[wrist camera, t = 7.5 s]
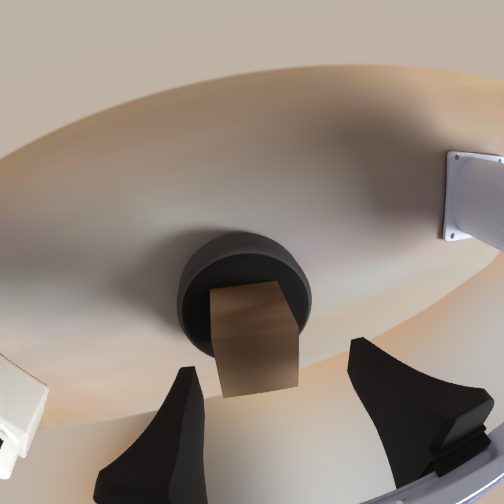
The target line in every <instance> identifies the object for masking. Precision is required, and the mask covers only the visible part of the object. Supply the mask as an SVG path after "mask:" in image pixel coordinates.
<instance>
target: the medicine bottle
mask: <svg viewBox="0 0 504 504" xmlns="http://www.w3.org/2000/svg"><path fill="white" fill-rule="evenodd" d="M48 390H49V388H48V386H47V385H45V384H43V383H42V382H40V381H39V380H37V379H35V378H34V377H32V376H31V375H29V374H28V373H26V372H25V371H23V370H22V369H20V368H19V367H17V366H16V365H15V364H13V363H12V362H10V361H9V360H7V359H6V358H5V357H3V356H2V355H1V354H0V479H8V478H10V475H11V472H12V469H13V467H14V464H15V461H16V459H17V456H18V455H19V456H20V457H22V458H25V457H26V454H27V452H28V449H29V447H30V444H31V442H32V439H33V436H34V434H35V431H36V429H37V427H38V424H39V422H40V420H41V417H42V414H43V409H44V405H45V401H46V398H47V394H48Z"/></svg>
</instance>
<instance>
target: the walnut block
mask: <svg viewBox="0 0 504 504" xmlns="http://www.w3.org/2000/svg"><path fill="white" fill-rule="evenodd" d="M210 313H211V341H212V346H213V351H214V356H215V361H216V365H217V370H218V375H219V380H220V384H221V389H222V393H223V397H224V398H227V397H235V396H243V395H250V394H257V393H263V392H269V391H275V390H280V389H286V388H292V387H297V386H298V368H299V327H298V324H297V322H296V320H295V318H294V316H293V314H292V312H291V310H290V307H289V305H288V303H287V301H286V299H285V297H284V295H283V293H282V291H281V289H280V286H279V284H278V282H277V281H270V282H263V283H256V284H248V285H240V286H233V287H225V288H216V289H210Z"/></svg>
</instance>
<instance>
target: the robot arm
mask: <svg viewBox="0 0 504 504" xmlns="http://www.w3.org/2000/svg"><path fill="white" fill-rule="evenodd" d="M455 156H456V159H455ZM451 234H452V235H451ZM472 237H475V238H477V239H479V240H481V241H483V242H485V243H487V244H489V245H491V246H493V247H495V248H496V249H498V250H500V251H502V252H504V157H502V156H495V155H486V154H478V153H468V152H457V151H449V152H448V154H447V184H446V204H445V217H444V228H443V240H445V241H447V242H449V241H455V240H460V239H466V238H472ZM347 372H348V374H349V377H350V380H351V382H352V385H353V387H354V389H355V391H356V393H357V394H358V396H359V398H360V400H361V402H362V403H363V405H364V407H365V409H366V410H367V412H368V414H369V416H370V417H371V419H372V421H373V423H374V425H375V427H376V429H377V431H378V434H379V436H380V439H381V441H382V444H383V446H384V449H385V452H386V455H387V458H388V461H389V464H390V467H391V470H392V474H393V477H394V481H395V485H396V490H394V491H392V492H389V493H387V494H384V495H382V496H379V497H377V498H374V499H371V500H369V501H366V502H363V503H360V504H472V503H474V502H475V501H477V500H478V499H479V498H481V497H482V496H484V495H485V494H486V493H487V492H489V491H490V490H491V489H493V488H494V487H495V486H497V485H498V484H499V483H500V482H502V481H503V480H504V422H503V423H502V424H501V425H499V426H498V427H497V428H495V429H494V430H492V431H491V432H490V433H489V434H488V435H486V434H485V432H484V431H485V430H486V427H485V426H484V424H483V423H484V422H485V420H486V418H487V417H488V415H489V414H490V412H491V410H492V408H493V406H494V399H493V398H492V397H491V396H490V395H489V394H488V393H487V391H486V390H485V389H482V388H474V387H466V386H462V385H457V384H453V383H449V382H445V381H442V380H439V379H436V378H434V377H431V376H428V375H426V374H424V373H421V372H419V371H417V370H415V369H413V368H411V367H409V366H408V365H406V364H404V363H402V362H400V361H399V360H397V359H395V358H394V357H392V356H391V355H389V354H387V353H386V352H384V351H383V350H381V349H380V348H378V347H377V346H375V345H374V344H372V343H371V342H370V341H368V340H367V339H365V338H364V337H361V338H357V339H352V340H351V345H350V354H349V361H348V369H347ZM204 419H205V414H204V399H203V394H202V390H201V387H200V384H199V380H198V377H197V373H196V370H195V366H191V367H181V368H180V369H179V371H178V374H177V376H176V379H175V381H174V383H173V385H172V387H171V389H170V391H169V393H168V395H167V397H166V399H165V401H164V402H163V404H162V406H161V407H160V409H159V411H158V412H157V414H156V416H155V417H154V419H153V420H152V421H151V423H150V424H149V425H148V427H147V428H146V430H145V431H144V432H143V433H142V434H141V436H139V438H138V439H137V440H136V441H135V442H134V443H133V444H132V445H131V446H130V447H129V448H128V449H127V450H126V451H125V452H124V453H123V454H122V455H121V456H119V457H118V458H117V459H116V460H115V461H114V462H112V463H111V464H109V465H108V466H107V467H105V468H104V469H102V470H101V471H99V474H98V477H97V481H96V485H95V490H94V495H93V499H94V501H95V502H96V503H97V504H208V502H207V495H206V486H205V477H204V465H203V445H204V421H205V420H204Z"/></svg>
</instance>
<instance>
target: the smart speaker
mask: <svg viewBox="0 0 504 504" xmlns="http://www.w3.org/2000/svg"><path fill="white" fill-rule="evenodd" d="M270 281H277V282H278V284H279V286H280V289H281V291H282V293H283V295H284V297H285V299H286V301H287V303H288V305H289V307H290V310H291V312H292V314H293V316H294V318H295V320H296V322H297V324H298V327H299V335H300V333H301V332H302V331H303V329H304V327H305V325H306V323H307V321H308V318H309V315H310V311H311V304H312V297H311V289H310V286H309V282H308V280H307V278H306V275H305V274H304V272H303V270H302V269H301V267H300V266H299V264H298V263H297V262H296V260H295V259H294V258H293V256H292V255H291V254H290V253H289V252H288V251H287V250H286V249H285V248H284V247H283V246H281V245H280V244H279V243H277V242H275V241H273V240H272V239H269V238H267V237H264V236H261V235H256V234H248V233H239V234H231V235H227V236H223V237H220V238H218V239H215V240H213V241H211V242H209V243H208V244H206V245H205V246H203V247H202V248H201V249H200V250H198V251H197V252H196V253H195V254H194V256H193V257H192V258H191V259H190V261H189V262H188V264H187V265H186V267H185V270H184V272H183V274H182V277H181V281H180V286H179V291H178V297H177V314H178V319H179V322H180V325H181V327H182V330H183V331H184V333H185V335H186V336H187V338H188V339H189V340H190V341H191V343H192V344H193V345H194V346H196V347H197V348H198V349H199V350H201V351H202V352H204V353H205V354H207V355H209V356H211V357H213V358H215V356H214V351H213V346H212V341H211V313H210V289H216V288H225V287H233V286H240V285H248V284H256V283H263V282H270Z"/></svg>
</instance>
